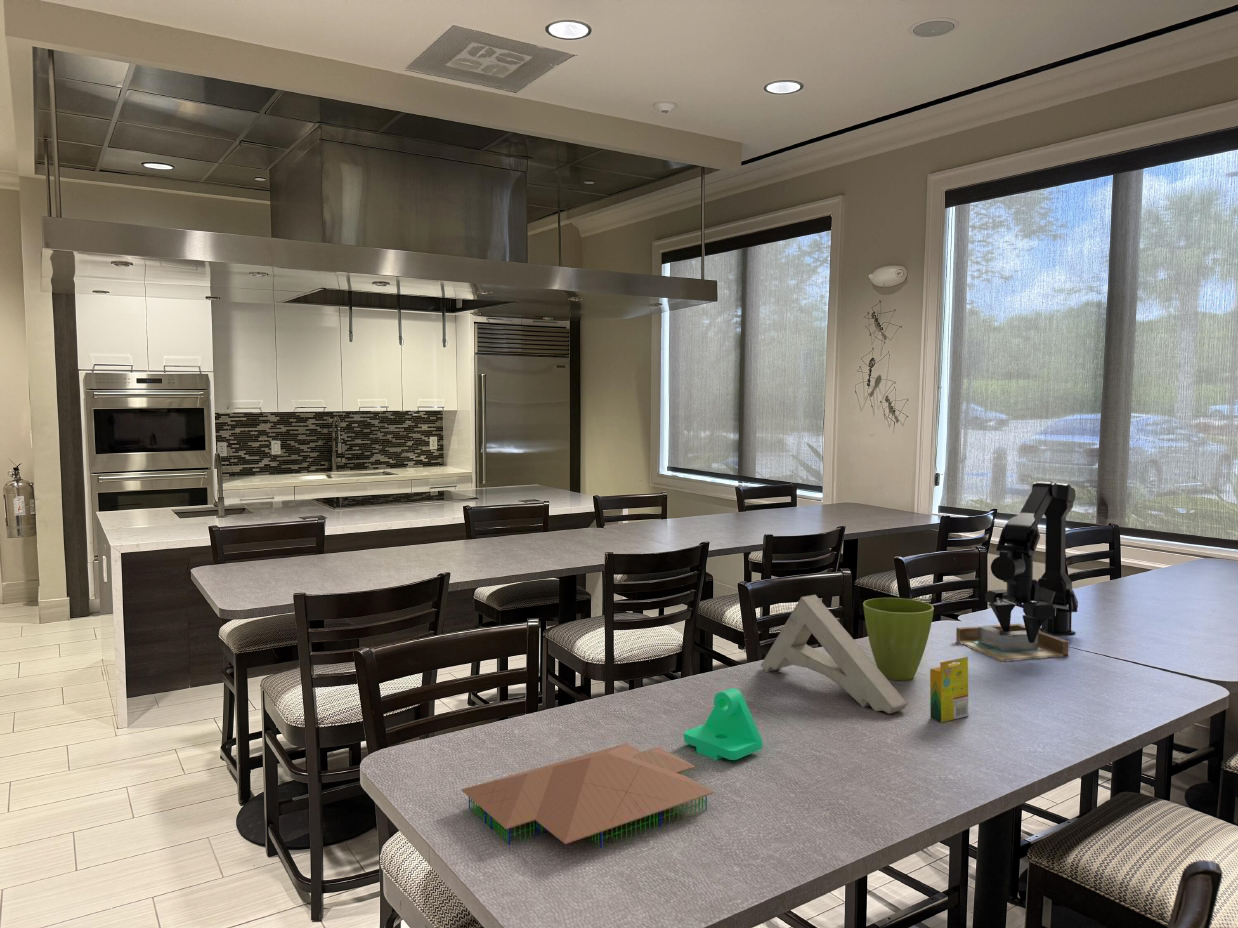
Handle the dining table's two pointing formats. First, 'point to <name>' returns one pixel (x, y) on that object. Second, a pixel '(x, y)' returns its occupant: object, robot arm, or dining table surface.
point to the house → (590, 793)
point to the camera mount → (726, 729)
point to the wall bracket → (845, 660)
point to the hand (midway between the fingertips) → (1018, 637)
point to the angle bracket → (1005, 639)
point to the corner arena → (1046, 648)
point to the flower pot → (898, 634)
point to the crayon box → (949, 690)
